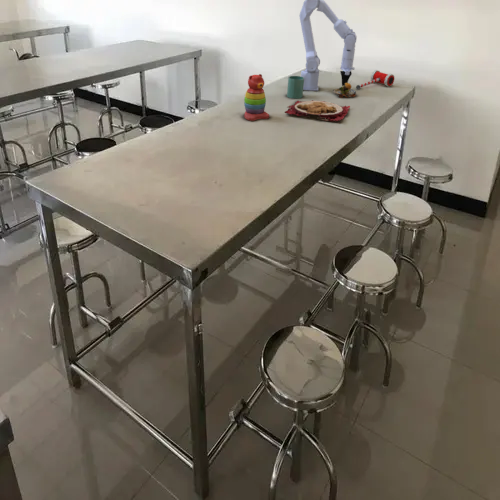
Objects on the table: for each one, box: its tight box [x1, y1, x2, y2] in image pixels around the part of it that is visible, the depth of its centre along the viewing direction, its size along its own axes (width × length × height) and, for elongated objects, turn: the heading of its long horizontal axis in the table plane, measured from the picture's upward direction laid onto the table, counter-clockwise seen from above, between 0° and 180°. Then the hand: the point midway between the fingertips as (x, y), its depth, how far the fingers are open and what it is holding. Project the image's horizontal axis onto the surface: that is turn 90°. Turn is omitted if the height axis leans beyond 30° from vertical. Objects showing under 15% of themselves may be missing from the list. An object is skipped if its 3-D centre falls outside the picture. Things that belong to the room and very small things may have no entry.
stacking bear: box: [243, 73, 270, 122], centre depth 209 cm, size 11×10×18 cm
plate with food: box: [284, 99, 351, 123], centre depth 222 cm, size 24×26×4 cm
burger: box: [332, 80, 357, 98], centre depth 245 cm, size 12×12×8 cm
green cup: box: [286, 75, 304, 100], centre depth 240 cm, size 8×8×9 cm
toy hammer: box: [355, 69, 395, 90], centre depth 261 cm, size 23×12×6 cm, turn 127°
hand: (344, 86), depth 250 cm, fingers closed
